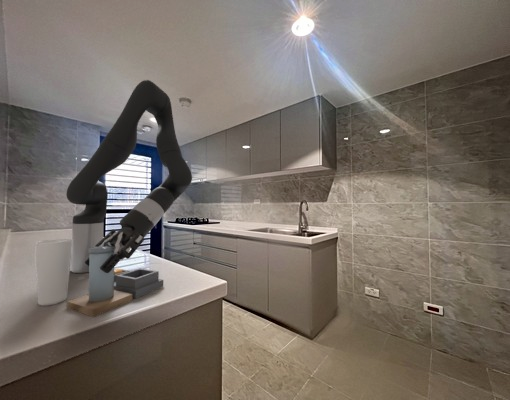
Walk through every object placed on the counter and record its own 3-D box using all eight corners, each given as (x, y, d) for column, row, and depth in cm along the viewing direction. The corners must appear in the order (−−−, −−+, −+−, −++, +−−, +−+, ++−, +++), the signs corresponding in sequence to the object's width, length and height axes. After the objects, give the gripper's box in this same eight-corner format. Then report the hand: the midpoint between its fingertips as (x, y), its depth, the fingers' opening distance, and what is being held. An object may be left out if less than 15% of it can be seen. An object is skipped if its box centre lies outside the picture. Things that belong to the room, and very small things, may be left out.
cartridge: (83, 299, 51) (84, 248, 52) (105, 291, 56) (106, 245, 56) (97, 303, 49) (97, 250, 50) (119, 295, 54) (119, 246, 54)
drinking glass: (36, 311, 49) (38, 244, 49) (30, 302, 53) (32, 241, 53) (74, 300, 54) (75, 240, 55) (66, 294, 58) (68, 237, 59)
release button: (103, 278, 65) (103, 271, 65) (116, 274, 68) (116, 268, 68) (112, 280, 63) (112, 273, 63) (125, 276, 67) (125, 269, 67)
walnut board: (66, 307, 50) (67, 301, 50) (106, 293, 59) (106, 288, 59) (93, 316, 46) (93, 309, 47) (132, 300, 55) (132, 294, 55)
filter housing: (89, 287, 63) (90, 271, 63) (119, 278, 71) (120, 264, 72) (135, 298, 56) (136, 280, 56) (163, 286, 64) (163, 271, 64)
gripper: (121, 208, 63) (70, 255, 53) (148, 208, 56) (95, 263, 46) (138, 225, 68) (95, 271, 58) (166, 227, 60) (121, 282, 50)
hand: (95, 268), depth 52 cm, fingers open, 8 cm apart
